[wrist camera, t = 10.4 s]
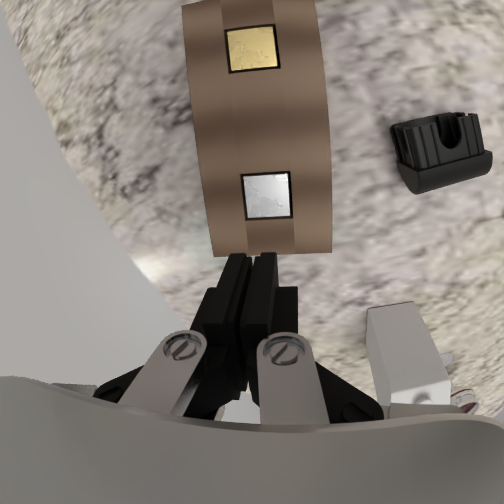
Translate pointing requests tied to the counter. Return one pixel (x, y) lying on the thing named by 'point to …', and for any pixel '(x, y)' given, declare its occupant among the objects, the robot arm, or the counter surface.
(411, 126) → the end cap
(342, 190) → the counter surface
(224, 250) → the walnut block
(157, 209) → the counter surface
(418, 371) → the milk carton
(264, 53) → the brass peg
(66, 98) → the counter surface
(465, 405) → the wineglass
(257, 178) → the steel peg
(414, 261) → the counter surface
